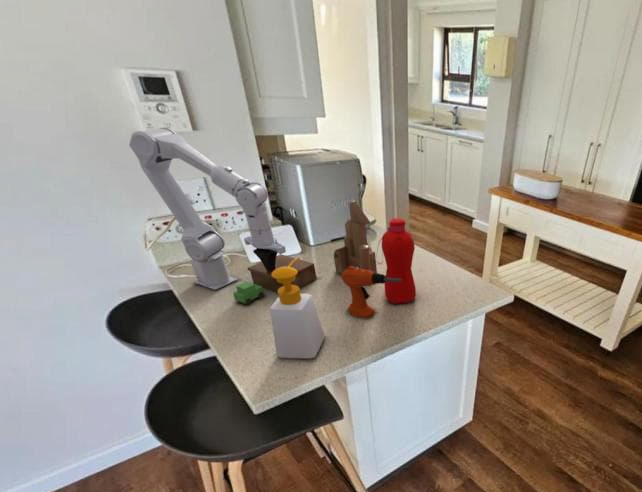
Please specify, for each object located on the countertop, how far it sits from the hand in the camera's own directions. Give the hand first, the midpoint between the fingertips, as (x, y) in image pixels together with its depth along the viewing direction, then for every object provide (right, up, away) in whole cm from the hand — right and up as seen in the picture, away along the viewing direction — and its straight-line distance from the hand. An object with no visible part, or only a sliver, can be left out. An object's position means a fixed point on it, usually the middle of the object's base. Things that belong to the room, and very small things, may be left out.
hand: (271, 270), depth 114 cm
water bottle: (+39, -9, +1) cm, 40 cm away
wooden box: (+1, -3, +7) cm, 7 cm away
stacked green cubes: (-4, -9, -4) cm, 11 cm away
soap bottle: (+19, -22, -20) cm, 35 cm away
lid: (+2, +1, +4) cm, 4 cm away
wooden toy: (+24, 0, +13) cm, 27 cm away
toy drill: (+34, -14, -8) cm, 38 cm away
